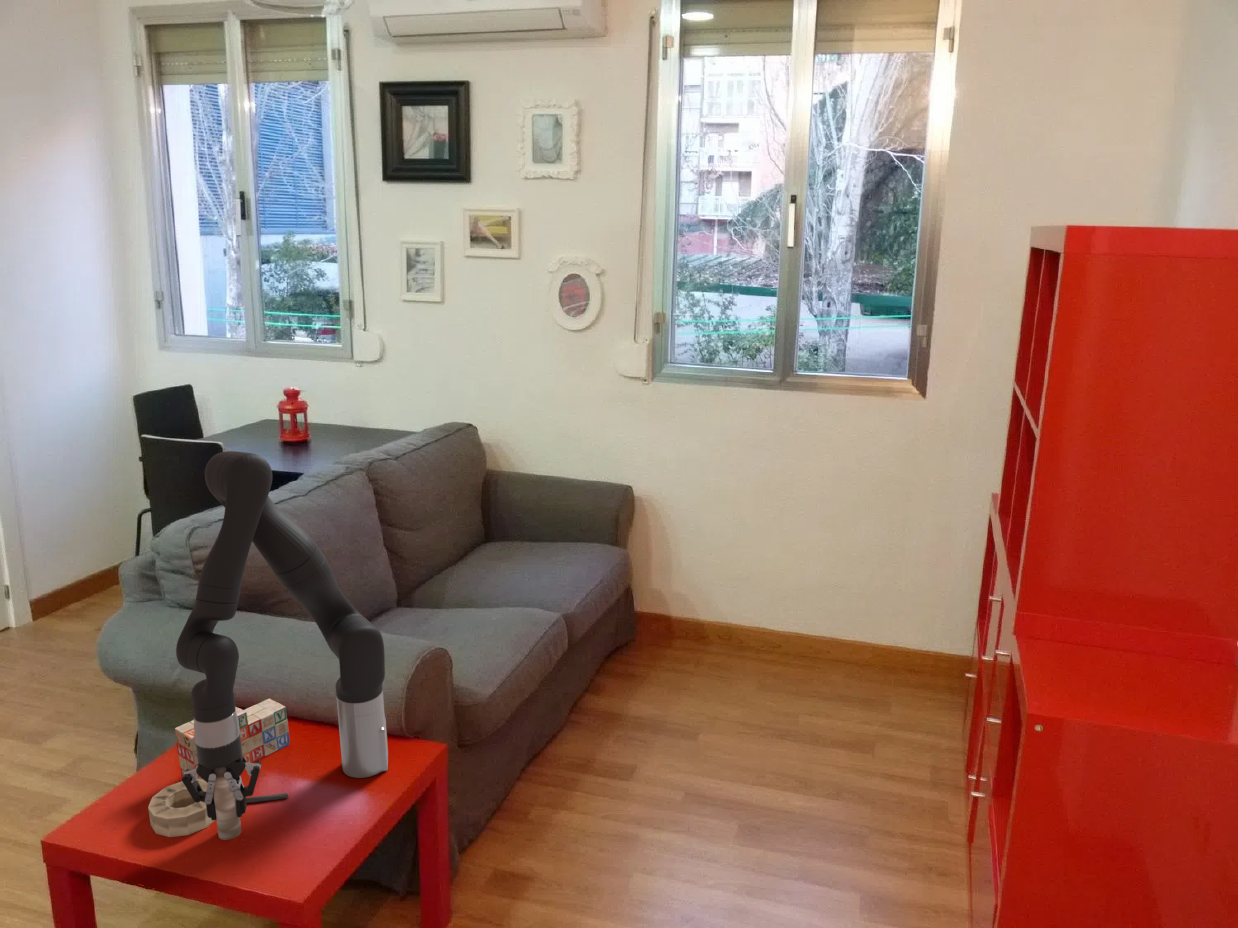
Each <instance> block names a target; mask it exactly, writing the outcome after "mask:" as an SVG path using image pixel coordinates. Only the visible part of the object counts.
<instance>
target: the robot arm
mask: <svg viewBox="0 0 1238 928" xmlns="http://www.w3.org/2000/svg"><path fill="white" fill-rule="evenodd" d="M204 481H205V483H206V486H207V488H208V491H209V492H210V493H211V494H212V496H213V497H214V499H216V500H217V501H218V502H219V503H220V505H222V506H223V507H224V515H223V520H222V524H221V527H220V530H219V533H218V535H217V537H216V539H215V541H214V543H213V545H212V547H211V548H210V550H209V553H208V554H207V557H206V559H205V560H204V563H203V565H202V568H201V572H200V576H199V580H198V585H197V589H196V590H197V591H196V596H195V602H194V606H193V608H192V611H191V612H190V614H189V616H188V618H187V619H186V620H187V621H186V622H185V624H184V626H183V629H182V630H181V632H180V634H179V637H178V639H177V642H176V646H175V647H176V648H175V654H176V655H175V656H176V658H177V662H178V664H179V665H180V666H181V667H182V668H184V669H187V670H190V671H194V672H197V673H201V674H204V675H205V679H202V680H199V681H198V682H196V684H195V685H193V687H192V689H191V693H190V698H191V699H190V700H191V706H192V714H193V720H194V739H195V743H196V751H197V758H198V766H197V768H195V769H193V770H190V769H186V770H185V772H184V774H183V777H182V776H181V781H183V783H184V785H185V786H186V788H187V790H188V792H189V793H190V795H191V797H192V798H193V800H194V802H196V803H199V802H200V801H201V802H204V803H205V804H206V808H207V815H208V817H209V818H211V819H212V821H213V820H214V821H217V820H216V812H215V805H214V797H213V792H214V786H215V780H216V777H217V774H216V772H215V769H216V768H220V767H225V768H226V771H225V773H224V777H225V779H226V780H227V782H228V784H229V786H230V788H231V791H232V792H234V794H235V796H236V806H237V815H238V817H240V818H242V817H243V816H244V815H243V814H245V813H246V811H247V806H248V805H247V804H248V803H246V798H248V797H253V795H254V792H255V788H256V786H257V781H258V777H259V774H260V771H261V767H262V761H260V760H257V761H255V762H253V763H249V762H246V760H245V758H244V757H243V754H242V746H241V737H240V729H239V720H238V716H237V713H236V708H235V707H236V701H235V694H234V686H235V682H236V678H237V677H236V676H237V672H238V667H239V660H240V653H239V649H238V646H237V644H236V642H235V641H234V640H233V639H232V638H231V637H229V636H227V635H223V634H220V633H219V634H218V633H214V631H215V628H216V626H217V624H218V623H219V622H221V621H222V622H223V621H229V620H232V619H233V618H234V617H235V615H236V613H237V609H238V602H239V600H240V599H239V598H240V595H241V589H242V582H243V577H244V573H245V568H246V567H245V566H246V564H247V560H248V555H249V553H250V549H251V546H252V543H253V544H254V546H255V548H256V549H257V550H258V552H259V553H260V555H261V556H262V557H263V558H264V561H265V562H266V563H267V565H268V566H269V568H270V569H271V570H272V572H273V573H274V575H275V576H276V577H277V578H278V580H279V581H280V583H281V584H282V586H284V588H285V589H286V590H287V591H288V593H289V594H290V595H291V596H292V597H293V598H294V600H296V601H297V602H298V603H299V604H300V605H301V606H302V607H303V608H304V609H306V611H307V612H308V613H309V614H310V616H311V617H312V619H313V620H314V622H315V624H316V625H317V627H318V629H319V630H320V633H321V634H322V636H323V638H324V640H325V642H326V645H327V646H328V647H329V649H330V651H331V652H332V653H333V654H334V655H335V657H337V659H338V663H339V678H338V679H337V681H336V682H335V697H336V707H337V709H336V710H337V720H338V730H339V741H340V752H341V755H340V756H341V764H342V765H341V767H342V771H343V772H344V774H345V775H346V776H348V777H351V778H354V779H355V778H356V779H362V778H363V779H364V778H365V779H366V778H369V777H373V776H375V775H378V774H380V773H382V772H387V771H388V770H389V768H388V767H389V765H388V764H389V748H388V735H387V734H388V732H387V721H386V720H387V719H386V715H385V702H384V690H383V683H384V682H385V681H384V680H385V677H386V667H385V665H386V664H385V663H386V660H385V658H386V656H385V645H384V639H383V638H384V637H383V636H382V633H381V631H380V630H379V629H378V628H377V627H376V626H375V625H374V624H373V623H371V622H370V621H369V620H368V619H367V618H366V617H364V615H362V614H361V613H360V612H359V611H358V610H357V609H356V608H355V606H353V604H352V603H351V602H350V601H349V599H348V598H347V597H346V595H344V593H343V592H342V591H341V589H340V587H339V585H338V581H337V579H336V576H335V574H334V572H333V569H332V567H331V565H330V563H329V561H328V560H327V558H326V556H325V555H324V554H323V552H322V550H321V549H320V547H319V546H318V545H317V543H316V542H315V541H314V539H313V538H312V536H310V535H309V533H307V531H305V529H303V528H302V527H301V525H299V524H297V522H295V521H294V520H293V519H292V518H291V517H289V515H287V514H286V513H285V512H283V510H282V509H280V508H279V507H278V506H277V505H276V504H275V503H274V502H273V501H272V499H271V498H270V496H269V493H270V490H271V487H272V484H273V471H272V467H271V465H270V463H269V462H268V461H267V459H265V458H264V457H263V456H261V455H259V454H256V453H252V452H245V451H235V450H233V451H232V450H231V451H229V450H227V451H222V452H217V453H216V454H214V455H213V456H212V457H211V458H210V459H209V460H208V462H207V463H206V466H205V469H204ZM245 770H246V772H247V775H248V776H249V777H250V779H249V782H248V785H247V786H245V785H244V783H243V781H242V777H241V775H242V773H243V772H244V771H245ZM197 775H199V776H200V777H201V778H202V779H203V780H204V781H206V782H207V783H208V785H207V790H206V792H205V791H203V790H202V788H201V786H200V784H199V783H198V781H197V777H198V776H197ZM214 821H213V822H214Z"/></svg>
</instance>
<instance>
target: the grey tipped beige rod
mask: <svg viewBox="0 0 1238 928" xmlns="http://www.w3.org/2000/svg"><path fill="white" fill-rule="evenodd" d="M225 771H226V768H225V767H220V768H216V769H215V772H216V774H217V777H216V780H215V786H214V792H213V797H214V805H215V812H216V820H215V821H216V826H217V827H216V828H217V835H218V838H219V839H220V840H224V841H228V840H229V841H230V840H232V839H235V838H237V837H239V836H240V835H241V833H242V824H241V817H238V815H237V806H236V796H235V794H234V792H232V791H231V788H230V786H229V784H228V782H227V780H226V779H225V777H224V773H225Z"/></svg>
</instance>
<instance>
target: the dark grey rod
mask: <svg viewBox="0 0 1238 928" xmlns="http://www.w3.org/2000/svg"><path fill="white" fill-rule="evenodd" d="M287 798H289V794H288V792H283V793H275V794H267V795H259V796H248V797H246V804H250V803H252V804H253V803H259V802H266V801H274V800H275V801H276V800H282V799H287Z"/></svg>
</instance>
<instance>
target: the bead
mask: <svg viewBox="0 0 1238 928" xmlns="http://www.w3.org/2000/svg"><path fill="white" fill-rule="evenodd" d="M197 781H198V783H199V784H200V786H201V788H202V790H203V791H205V792H206V790H207V785H208V783H207V782H206V781H204V780H202V779H197ZM147 808H148V809H147V810H148V815H149V821H150V822H149V824H150V827H151V828H152V829H153V831H154V832H155V834H156V835H160V836H164V837H167V838H174V837H176V838H177V837H181V836H183V837H184V836H190V835H192V834H194V833H197V832H199V831H201V830H204V829H206V828H208V827H209V826H210V825H211V824H212V823H213V822H215V820H213V821H212V819H211V818H209V817H208V815H207V808H206V804H205V803H204V802H201V801H200V802H199V803H196V802H194V800H193V798H192V797H191V795H190V793H189V792H188V790H187V788H186V786H185V785H184V783H183V781H182V780H181V781H178V782H176V783H175V782H174V783H173V784H171V785H167V786H165V787H164V788H162V789H161V790H160V791H158V792H157V793H156V794H155V795H153V796H152V798H151V799H150V802H149V804H148V807H147Z"/></svg>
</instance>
